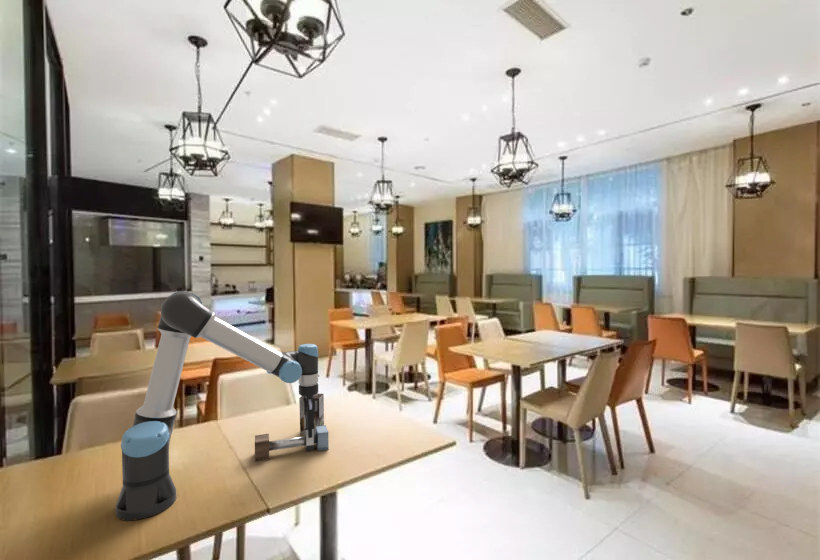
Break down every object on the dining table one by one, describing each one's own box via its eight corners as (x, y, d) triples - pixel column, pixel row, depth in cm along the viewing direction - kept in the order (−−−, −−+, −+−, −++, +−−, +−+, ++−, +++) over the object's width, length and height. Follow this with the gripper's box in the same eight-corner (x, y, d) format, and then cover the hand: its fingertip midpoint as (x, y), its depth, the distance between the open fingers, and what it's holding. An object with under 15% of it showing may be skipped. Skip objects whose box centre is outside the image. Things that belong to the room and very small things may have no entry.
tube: (264, 458, 145) (264, 424, 145) (264, 452, 150) (264, 419, 150) (324, 448, 153) (323, 416, 153) (322, 443, 158) (322, 411, 157)
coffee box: (324, 429, 172) (324, 393, 172) (319, 435, 166) (319, 398, 165) (304, 428, 173) (304, 392, 173) (299, 434, 167) (298, 397, 166)
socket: (328, 449, 153) (328, 431, 153) (318, 451, 151) (318, 433, 151) (325, 442, 159) (325, 425, 159) (315, 443, 158) (315, 426, 158)
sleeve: (269, 459, 145) (269, 440, 145) (254, 461, 143) (254, 443, 143) (269, 451, 151) (268, 433, 151) (255, 453, 150) (255, 435, 149)
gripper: (321, 389, 146) (322, 450, 146) (315, 376, 163) (315, 431, 163) (300, 391, 143) (301, 453, 144) (296, 378, 160) (297, 434, 160)
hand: (309, 441), depth 153 cm, fingers closed on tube, 5 cm apart
